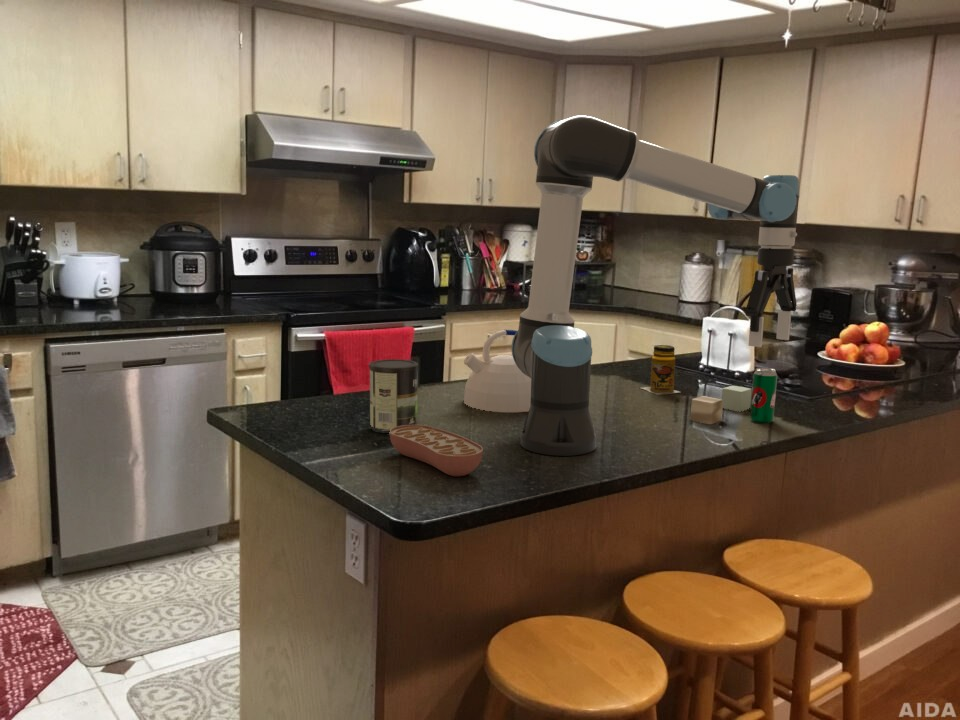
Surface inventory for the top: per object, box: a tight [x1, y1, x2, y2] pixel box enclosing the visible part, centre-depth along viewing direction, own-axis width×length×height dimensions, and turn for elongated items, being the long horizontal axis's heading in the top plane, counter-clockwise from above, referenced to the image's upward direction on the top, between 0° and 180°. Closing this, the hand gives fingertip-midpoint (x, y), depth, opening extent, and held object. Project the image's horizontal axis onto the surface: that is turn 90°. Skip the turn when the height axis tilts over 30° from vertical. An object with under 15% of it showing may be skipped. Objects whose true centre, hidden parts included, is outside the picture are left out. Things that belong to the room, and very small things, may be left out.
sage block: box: [721, 385, 752, 413], centre depth 202 cm, size 5×5×5 cm
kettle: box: [463, 329, 531, 414], centre depth 202 cm, size 20×21×18 cm
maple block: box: [689, 395, 723, 425], centre depth 190 cm, size 5×5×5 cm
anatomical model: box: [388, 424, 484, 477], centre depth 155 cm, size 23×10×5 cm, turn 39°
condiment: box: [641, 344, 680, 395], centre depth 220 cm, size 7×8×12 cm
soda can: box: [749, 367, 778, 424], centre depth 190 cm, size 5×5×12 cm
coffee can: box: [368, 358, 419, 431], centre depth 178 cm, size 10×10×14 cm
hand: (769, 342), depth 188 cm, fingers open, 13 cm apart
